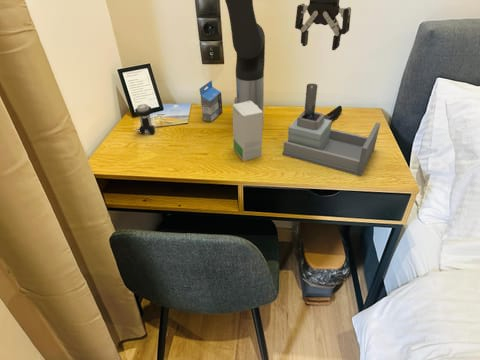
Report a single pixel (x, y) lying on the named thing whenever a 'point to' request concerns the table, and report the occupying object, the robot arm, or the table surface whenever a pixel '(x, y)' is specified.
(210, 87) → the label tape cartridge
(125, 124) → the table surface
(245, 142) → the skincare box
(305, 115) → the handle peg
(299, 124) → the square socket block
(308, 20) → the robot arm
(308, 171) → the table surface
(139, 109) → the grey black upright piece
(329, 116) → the electric trimmer
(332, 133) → the bay
